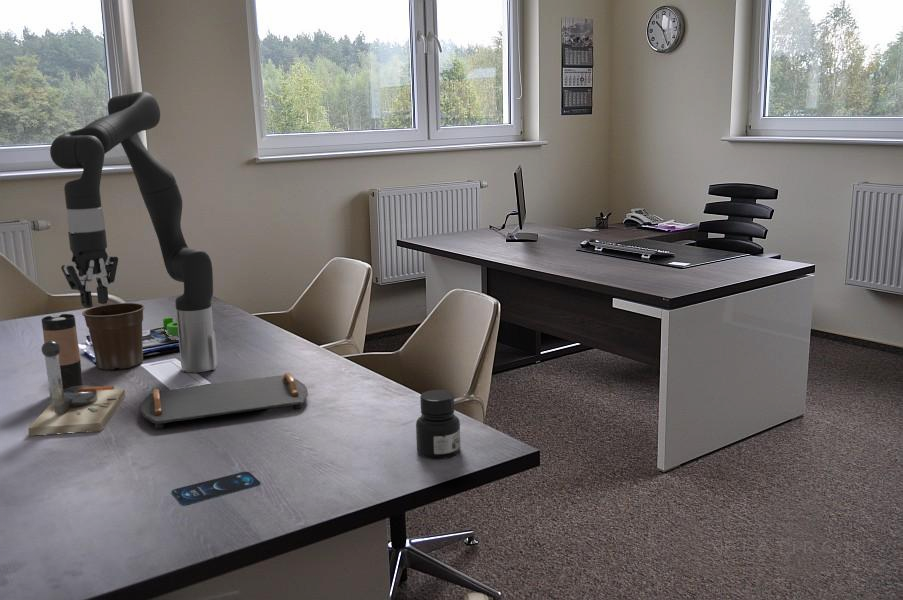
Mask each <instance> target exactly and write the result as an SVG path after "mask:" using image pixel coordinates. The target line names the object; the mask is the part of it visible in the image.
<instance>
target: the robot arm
mask: <svg viewBox="0 0 903 600" xmlns="http://www.w3.org/2000/svg"><path fill="white" fill-rule="evenodd" d="M107 113H108V114H107V115H105V116H102V117H100V118H97V119H95V120H93V121H91V122H90V123H88V124H87V125H85V126H84V127H83V128H80V129H75V130H72V131H69V132H66V133H62V134H60V135H59V136H57V137H55V139H54V140H53V141H52V143H51V144H50V148H49V154H50V159H51V160H52V162H53V163H54V164H55V166H57V167H59V168H61V169H63V170H64V169H65V170H78V169H79V170H81V169H82V174H81V176H80V178H78V179H74V180H70V181H67V182H66V183H65V184H64V189H63V190H64V199H65V206H66V207H65V208H66V226H67V234H68V242H69V244H68V245H69V249H70V251H71V254H72V258H71V261H70V262H69V263H68V264H66V265H65V264H62V265H61V271H62V273H63V275H64V278H65V280H66V281H67V283H68V285H69V288H70V289H71V290H76V291H79V296H80V303H81V306H82V307H83V308H85V309H89V308H93V307H94V306H93V305H94V304H93V299H92V298H93V297H92V291H91V282H92V281H93V278H94V281H95V283H96V294H97V295H96V296H97V303H98V304H102V305H107V304H108V301H109V292H108V287H109V285H110V284H112V283H114V282H115V279H116V273H117V269H118V265H119V264H118V263H119V258H118V257H117V256H113V255H112V256H111V255H108V253H107V251H106V249H107V248H108V241H107V232H106V225H105V217H104V216H105V215H104V212H103V208H102V207H103V206H102V200H101V192H100V191H101V190H100V189H101V179H102V173H103V168H104V167H103V166H104V161H105V155H106V154H107V153H109V152H110V151H111V150H112V149H114V148H115V147H117V146H118V145H119V144H121V146H122V148H123V150H124V153H125V155H126V157H127V159H128V161H129V164H130V167H131V169H132V172H133V174H134V177H135V179H136V182H137V186H138V188H139V192H140V194H141V197H142V199H143V203H144V205H145V207H146V210H147V212H148V214H149V218H150V220H151V223H152V226H153V229H154V231H155V235H156V238H157V240H158V244H159V246H160V247H159V248H160V251H161V255H162V256H161V257H162V259H163V263H164V267H165V269H166V273H167V274H168V275H169V276H170V278H171V279H172V280H174V281H176V282H180V283H183V294H182V295H179V296H178V297H176V299H175V312H176V313H175V314H176V316H177V325H178V336H179V340H178V344H179V345H178V347H179V352H180V353H179V356H180V366H181V370H182V371H181V372H184V371H185V372H184V373H190V372H193V373H196V374H197V373H205V372H208V371H214V370H216V369H217V366H218V356H217V355H218V354H217V352H218V351H217V345H216V344H217V341H216V331H214V323H213V322H214V321H213V309H212V298H213V296H214V275H213V264H212V260H211V257H210V256H209V254H208V253H207V252H206V251H204V250H202V249H196V248H189V247H188V244H187V242H186V240H185V237H184V235H183V231H182V228H181V227H182V226H181V222H182V214H183V198H182V194H181V191H180V189H179V186H178V183H177V179H176V177H175V176H174V174H173V173H172V171H171V170H170V169H169V168H168V167H167V166H166V165H165V164H164V163H162V161H160V160H159V159H158V158H157V157H155V156H154V155H153V154H152V153H151V152H150V151H149V150H148V149H147V147H146V146H145V145H144V144H143V142H142V140H141V138H140V136H139V134H138V133H141V132H142V131H149V130H151V129H153V128H155V127H157V126H158V124H159V123H160V121H161V109H160V106H159V102H158V101H157V99H156V97H155V96H154V95H152V94H151V93H149V92H146V91H137V92H133V93H128V94H127V93H126V94H120V95H116V96H113V97H111V98H109V100H108V102H107ZM193 373H192V374H193Z"/></svg>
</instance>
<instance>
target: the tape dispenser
mask: <svg viewBox="0 0 903 600" xmlns="http://www.w3.org/2000/svg"><path fill="white" fill-rule="evenodd" d="M175 319H176V321H174V319H173V317H172V316H168V317H164V318H163V319H162V324H163V325H162V327H164V328H167V332H168V334H169V335H177V336H178V325H177V315H176V316H175ZM164 328H163V329H164Z"/></svg>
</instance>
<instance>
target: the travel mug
mask: <svg viewBox="0 0 903 600" xmlns="http://www.w3.org/2000/svg"><path fill="white" fill-rule="evenodd" d="M41 325H42V326H41V327H42V333H43V334H42V335H43V341H44V343H45V342H47V341H55V342H57V343H58V344H59V346H60V352H59V362H60V370H61V378H62V386H63V389H64V388H68V387H72V386H80V385H83V375H82V365H81V364H82V363H81V353H80V347H79V338H78V332H77V331H78V330H77V324H76V318H75V315H74V314H70V313H62V314H60V315H58V316H52V315H48V316H44V317H42V318H41ZM44 343H43V344H44Z"/></svg>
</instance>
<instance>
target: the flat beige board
mask: <svg viewBox="0 0 903 600" xmlns="http://www.w3.org/2000/svg"><path fill="white" fill-rule="evenodd" d="M97 396H98V399H97V401H95V402H94V403H91V404H89V405H85V406H80V407H73V408H70V409H68V410H67V411H66V412H64V413H63V414H55V409H54V406H51V403H50V404H49V405H48V406H47V407H46V408H45V409H44V410H43V411H42V413H40V414H39V416H38V417H37V418H36V419H35V420H34V421H33V423H31V424H30V425H29V427H28V429H27V430H28V435H29V436H30V437H34V436H33V435H44V434H57V433H68V432H86V433H92V432H91V431H100V432H102V431H103V430H104V428H105V427H106V426H107V424H108V423H109V420H111V418H112V417H113V415H114V414H115V412H117V411H116V410H117V409H118V408H119V406H120V405H121V404H122V402H123V401H124V400H125V398H126V390H125V388H121V389H120V388H119V389H113V390H99V391H97ZM111 416H112V417H111ZM106 423H107V424H106ZM104 426H105V427H104ZM103 427H104V428H103ZM101 430H102V431H101ZM87 431H88V432H87ZM89 431H90V432H89ZM44 436H45V435H44Z"/></svg>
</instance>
